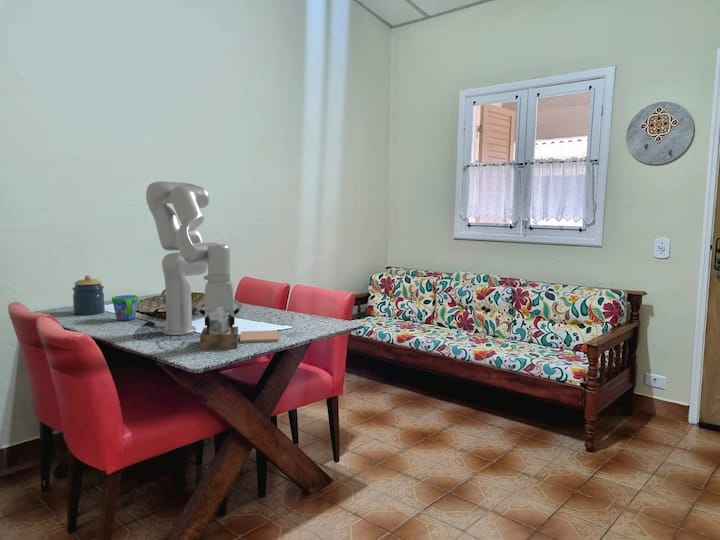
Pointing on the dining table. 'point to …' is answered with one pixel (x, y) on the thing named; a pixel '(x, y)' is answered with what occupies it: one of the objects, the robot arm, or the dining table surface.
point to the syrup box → (219, 321)
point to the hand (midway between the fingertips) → (219, 326)
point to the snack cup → (125, 307)
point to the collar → (219, 339)
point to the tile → (259, 336)
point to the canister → (88, 297)
